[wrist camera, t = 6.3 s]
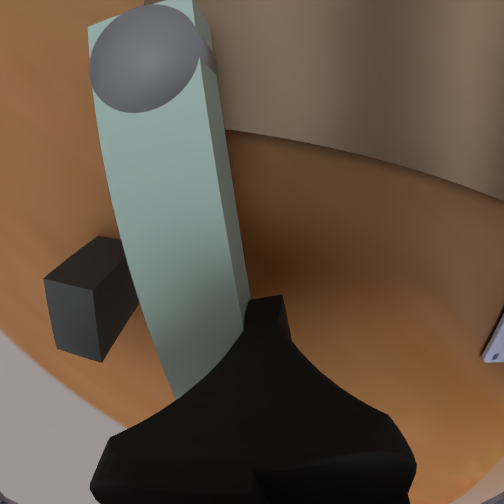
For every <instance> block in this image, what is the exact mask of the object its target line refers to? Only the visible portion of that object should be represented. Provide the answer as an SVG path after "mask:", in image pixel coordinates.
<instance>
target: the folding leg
mask: <svg viewBox="0 0 504 504" xmlns="http://www.w3.org/2000/svg"><path fill="white" fill-rule="evenodd" d="M88 40H89V55H90V62H89V75H90V81H91V84H92V87H93V96H94V104H95V111H96V119H97V125H98V132H99V138H100V144H101V150H102V155H103V161H104V166H105V171H106V176H107V181H108V186H109V191H110V195H111V200H112V204H113V208H114V213H115V217H116V221H117V225H118V229H119V233H120V237H121V241H122V244H123V248H124V252H125V255H126V259H127V263H128V266H129V269H130V273H131V276H132V280H133V283H134V286H135V289H136V293H137V296H138V299H139V302H140V305H141V308H142V311H143V314H144V317H145V320H146V323H147V326H148V329H149V332H150V334H151V337H152V340H153V343H154V345H155V348H156V351H157V353H158V356H159V359H160V361H161V364H162V367H163V369H164V372H165V374H166V377H167V379H168V382H169V384H170V386H171V389H172V391H173V394H174V396H175V398H176V400H177V399H178V398H180V397H181V396H182V395H184V394H185V393H186V392H187V391H188V390H190V389H191V388H192V387H193V386H194V385H195V384H197V383H198V382H199V381H200V380H201V379H203V378H204V377H205V376H206V375H207V374H208V373H209V372H210V371H211V370H212V369H213V368H214V367H215V366H216V365H217V364H218V363H219V362H220V360H221V359H222V358H223V357H224V356H225V354H226V353H227V352H228V351H229V349H230V348H231V347H232V345H233V344H234V343H235V341H236V340H237V339H238V337H239V336H240V334H241V333H242V331H243V330H244V316H245V311H246V307H247V304H248V301H249V300H251V298H250V291H249V285H248V279H247V272H246V266H245V260H244V253H243V247H242V241H241V234H240V228H239V221H238V215H237V208H236V202H235V195H234V189H233V182H232V176H231V169H230V163H229V156H228V149H227V143H226V136H225V129H224V122H223V116H222V109H221V102H220V95H219V89H218V82H217V63H216V59H215V56H214V53H213V47H212V40H211V33H210V26H209V25H208V23H207V21H206V19H205V17H204V16H203V14H202V12H201V10H200V9H199V7H198V5H197V3H196V2H195V0H165V1H162V2H158V3H155V4H150V5H143V6H139V7H136V8H133V9H131V10H128V11H126V12H125V13H123V14H120V15H118V16H115V17H112V18H110V19H107V20H104V21H102V22H99V23H97V24H94V25H92V26H90V27H88Z"/></svg>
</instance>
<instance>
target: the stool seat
mask: <svg viewBox="0 0 504 504" xmlns="http://www.w3.org/2000/svg"><path fill="white" fill-rule="evenodd" d="M162 1H165V0H145V2H144V5H150V4H155V3H158V2H162ZM195 2H196V3H197V5H198V7H199V9H200V10H201V12H202V14H203V16H204V17H205V19H206V21H207V23H208V25H209V26H210V33H211V40H212V47H213V53H214V56H215V59H216V63H217V82H218V89H219V95H220V102H221V109H222V116H223V122H224V129H228V130H235V131H242V132H249V133H255V134H262V135H268V136H274V137H279V138H285V139H290V140H296V141H301V142H306V143H311V144H316V145H320V146H325V147H330V148H334V149H339V150H343V151H347V152H351V153H355V154H359V155H363V156H367V157H371V158H375V159H379V160H383V161H386V162H390V163H393V164H397V165H401V166H404V167H407V168H411V169H414V170H417V171H421V172H424V173H427V174H430V175H433V176H436V177H439V178H442V179H445V180H448V181H451V182H454V183H457V184H460V185H463V186H465V187H468V188H471V189H474V190H476V191H479V192H482V193H484V194H487V195H489V196H492V197H494V198H497V199H499V200H502V201H504V0H195Z"/></svg>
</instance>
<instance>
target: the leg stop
mask: <svg viewBox="0 0 504 504" xmlns="http://www.w3.org/2000/svg"><path fill="white" fill-rule="evenodd" d="M43 279H44V285H45V292H46V298H47V304H48V309H49V315H50V320H51V325H52V329H53V334H54V338H55V343H56V347H57V349H60V350H63V351H66V352H69V353H72V354H75V355H78V356H81V357H84V358H88V359H91V360H94V361H98V362H101V363H102V362H103V360H104V358H105V357H106V355H107V353H108V352H109V350H110V349H111V347H112V345H113V344H114V342H115V340H116V339H117V337H118V336H119V334H120V332H121V331H122V329H123V328H124V326H125V324H126V323H127V321H128V320H129V318H130V317H131V315H132V313H133V312H134V310H135V309H136V307H137V306H138V296H137V293H136V289H135V286H134V283H133V280H132V276H131V273H130V269H129V266H128V263H127V259H126V255H125V252H124V248H123V244H122V241H121V240H116V239H111V238H105V237H99V236H97V237H96V238H94V239H93V240H92V241H90V242H89V243H88V244H86V245H85V246H84V247H82V248H81V249H80V250H78V251H77V252H76V253H75V254H73V255H72V256H71V257H69V258H68V259H67V260H66V261H64V262H63V263H62V264H61V265H59V266H58V267H57V268H56V269H54V270H53V271H52V272H51V273H49V274H48V275H47V276H46V277H44V278H43Z"/></svg>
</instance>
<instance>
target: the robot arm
mask: <svg viewBox="0 0 504 504" xmlns="http://www.w3.org/2000/svg"><path fill="white" fill-rule="evenodd" d="M482 359H483V361H484V362H485V363H494V362H504V313H503V316H502V318H501V320H500V322H499V324H498V326H497V328H496V330H495V332H494V334H493V336H492V337H491V339H490V341H489V343H488V345H487V347H486V349H485V350H484V352H483V354H482ZM416 468H417V464H416V461H415V458H414V455H413V453H412V451H411V449H410V447H409V445H408V443H407V441H406V440H405V438H404V436H403V435H402V433H401V432H400V430H399V429H398V427H397V426H396V425H395V423H394V422H393V420H392V419H391V418H390V416H389V415H387V414H385V413H383V412H381V411H379V410H377V409H375V408H373V407H371V406H369V405H367V404H366V403H364V402H362V401H360V400H359V399H357V398H355V397H354V396H352V395H351V394H349V393H348V392H346V391H345V390H343V389H342V388H340V387H339V386H338V385H337V384H335V383H334V382H333V381H331V380H330V379H329V378H328V377H326V376H325V375H324V374H322V373H321V372H320V371H319V370H318V369H317V368H316V367H315V366H314V365H313V364H312V363H311V362H310V361H309V360H308V359H307V358H306V357H305V356H304V355H303V354H302V353H301V352H300V351H299V349H298V348H297V347H296V346H295V344H294V343H293V342H292V339H291V334H290V329H289V325H288V320H287V315H286V310H285V306H284V301H283V296H282V294H281V295H276V296H270V297H265V298H259V299H254V300H249V301H248V304H247V307H246V311H245V316H244V330H243V331H242V333H241V334H240V336H239V337H238V339H237V340H236V341H235V343H234V344H233V345H232V347H231V348H230V349H229V351H228V352H227V353H226V354H225V356H224V357H223V358H222V359H221V360H220V362H219V363H218V364H217V365H216V366H215V367H214V368H213V369H212V370H211V371H210V372H209V373H208V374H207V375H206V376H205V377H204V378H203V379H201V380H200V381H199V382H198V383H197V384H195V385H194V386H193V387H192V388H191V389H190V390H188V391H187V392H186V393H185V394H184V395H182V396H181V397H180V398H178V399H177V400H176V401H174V402H173V403H171V404H170V405H168V406H167V407H165V408H164V409H162V410H161V411H159V412H158V413H156V414H154V415H153V416H151V417H149V418H148V419H146V420H144V421H142V422H141V423H139V424H137V425H135V426H133V427H131V428H129V429H127V430H125V431H123V432H121V433H119V434H117V435H115V436H112V437H110V439H109V440H108V442H107V445H106V447H105V449H104V451H103V454H102V456H101V459H100V461H99V463H98V466H97V468H96V470H95V473H94V475H93V478H92V480H91V483H90V490H91V492H92V494H93V496H94V497H95V499H96V500H97V501H98V502H99V503H100V504H410V501H409V497H408V492H409V489H410V487H411V484H412V482H413V479H414V477H415V474H416ZM0 504H18V503H16V502H14V501H12V500H10V499H8V498H6V497H4V495H3V494H2V493H1V492H0ZM482 504H504V492H503V493H501V494H499V495H497V496H495V497H493V498H491V499H489V500H487V501H485V502H483V503H482Z"/></svg>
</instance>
